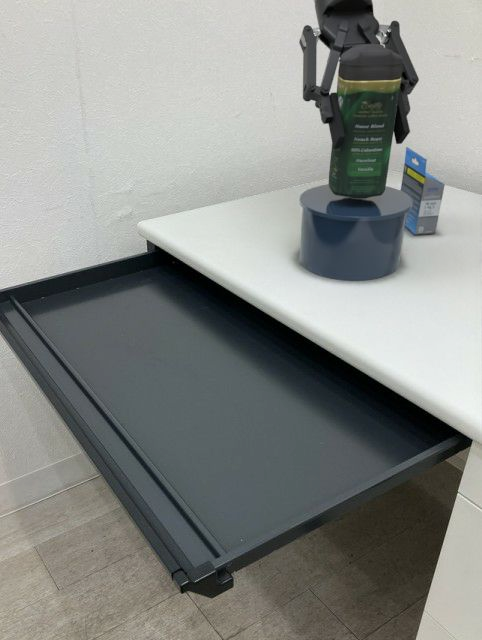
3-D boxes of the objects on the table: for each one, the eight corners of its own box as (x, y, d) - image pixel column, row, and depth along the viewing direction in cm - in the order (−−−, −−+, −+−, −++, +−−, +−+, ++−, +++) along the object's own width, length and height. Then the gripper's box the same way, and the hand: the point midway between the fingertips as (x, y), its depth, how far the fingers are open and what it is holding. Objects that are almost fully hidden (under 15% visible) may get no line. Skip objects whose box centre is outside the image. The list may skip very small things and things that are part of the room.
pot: (388, 239, 98) (396, 181, 93) (415, 280, 85) (427, 215, 79) (291, 242, 99) (294, 184, 93) (302, 283, 85) (306, 218, 80)
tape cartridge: (436, 234, 99) (451, 158, 92) (414, 235, 99) (426, 159, 92) (416, 216, 107) (428, 144, 100) (394, 218, 106) (405, 146, 99)
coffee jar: (389, 201, 81) (411, 47, 71) (331, 201, 82) (344, 49, 72) (378, 180, 89) (397, 39, 79) (325, 181, 90) (336, 41, 80)
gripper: (401, 12, 88) (433, 150, 83) (262, 19, 86) (288, 162, 81) (424, -33, 80) (460, 117, 76) (273, -26, 78) (301, 129, 74)
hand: (371, 140), depth 79 cm, fingers closed on coffee jar, 8 cm apart
